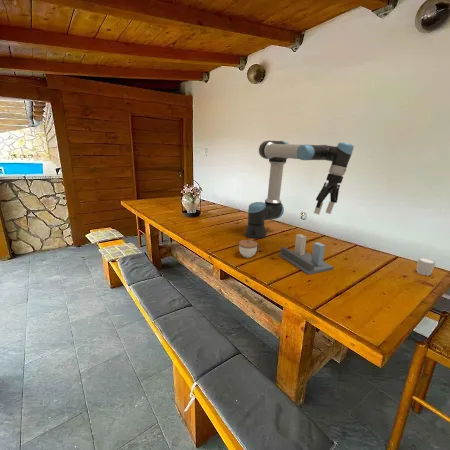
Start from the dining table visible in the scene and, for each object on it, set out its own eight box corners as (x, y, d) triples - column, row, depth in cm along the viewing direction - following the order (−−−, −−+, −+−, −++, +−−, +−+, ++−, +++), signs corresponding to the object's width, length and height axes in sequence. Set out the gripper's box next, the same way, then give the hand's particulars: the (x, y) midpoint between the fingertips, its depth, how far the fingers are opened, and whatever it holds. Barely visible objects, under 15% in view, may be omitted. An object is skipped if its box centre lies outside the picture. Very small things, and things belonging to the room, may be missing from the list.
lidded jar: (241, 260, 134) (242, 244, 132) (236, 252, 144) (236, 237, 142) (259, 258, 137) (260, 242, 134) (252, 251, 147) (253, 236, 144)
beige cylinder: (415, 268, 127) (418, 256, 125) (432, 272, 123) (435, 260, 121) (414, 273, 122) (417, 260, 120) (432, 277, 118) (435, 264, 116)
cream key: (294, 252, 141) (296, 234, 138) (298, 251, 142) (300, 233, 139) (300, 255, 137) (302, 237, 134) (304, 255, 138) (306, 236, 135)
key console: (278, 255, 141) (279, 247, 140) (301, 251, 147) (302, 243, 146) (308, 274, 119) (309, 265, 118) (333, 269, 125) (334, 260, 124)
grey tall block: (311, 262, 129) (313, 242, 126) (315, 261, 130) (318, 242, 127) (317, 266, 124) (320, 246, 121) (322, 265, 125) (325, 245, 122)
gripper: (332, 173, 114) (317, 216, 120) (352, 178, 131) (338, 215, 137) (317, 170, 119) (304, 211, 125) (338, 174, 136) (326, 210, 142)
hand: (322, 213), depth 131 cm, fingers open, 13 cm apart
